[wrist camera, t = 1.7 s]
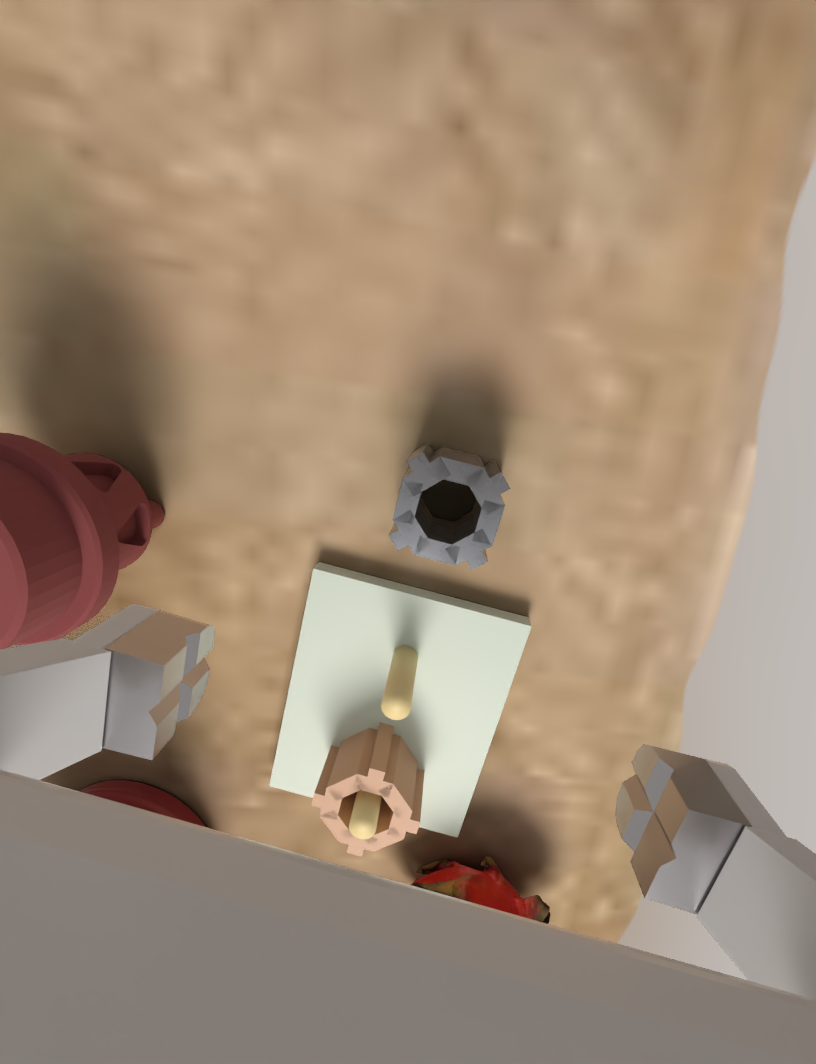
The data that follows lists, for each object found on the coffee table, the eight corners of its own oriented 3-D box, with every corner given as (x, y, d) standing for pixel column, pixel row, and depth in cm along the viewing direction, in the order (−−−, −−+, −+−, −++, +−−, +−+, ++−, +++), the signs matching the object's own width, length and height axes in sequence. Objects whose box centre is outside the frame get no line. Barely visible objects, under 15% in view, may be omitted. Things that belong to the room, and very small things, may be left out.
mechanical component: (28, 412, 29) (193, 435, 29) (41, 571, 32) (191, 595, 32) (-259, 426, 18) (10, 466, 17) (-199, 675, 20) (34, 716, 20)
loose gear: (417, 439, 28) (409, 448, 23) (505, 462, 28) (514, 475, 23) (396, 524, 29) (385, 547, 25) (479, 546, 29) (484, 573, 25)
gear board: (318, 561, 30) (285, 603, 24) (528, 617, 30) (546, 672, 24) (275, 772, 35) (238, 851, 29) (457, 822, 35) (458, 912, 29)
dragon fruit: (557, 885, 37) (401, 840, 40) (580, 873, 31) (390, 821, 33) (549, 1042, 32) (370, 980, 35) (573, 1070, 25) (350, 990, 28)
